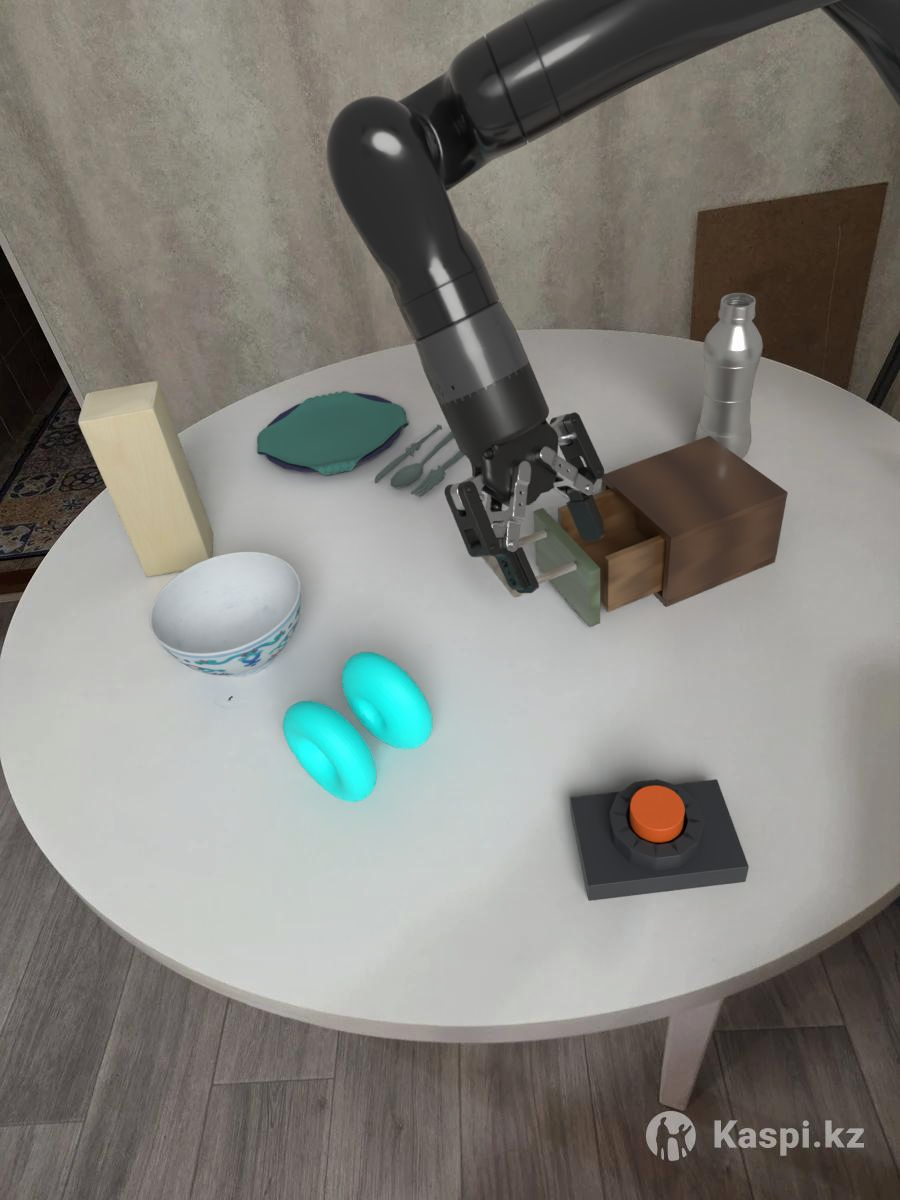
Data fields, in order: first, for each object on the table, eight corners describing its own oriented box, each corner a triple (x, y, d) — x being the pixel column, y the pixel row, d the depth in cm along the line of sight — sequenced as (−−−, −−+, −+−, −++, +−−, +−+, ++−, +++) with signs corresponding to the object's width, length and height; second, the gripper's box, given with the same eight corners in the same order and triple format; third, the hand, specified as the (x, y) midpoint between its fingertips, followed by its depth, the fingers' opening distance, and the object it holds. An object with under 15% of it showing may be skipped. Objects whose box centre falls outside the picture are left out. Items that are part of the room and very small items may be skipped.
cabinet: (666, 607, 88) (671, 537, 82) (601, 541, 97) (601, 474, 91) (775, 562, 92) (788, 492, 85) (702, 502, 100) (709, 435, 94)
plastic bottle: (716, 477, 104) (733, 319, 90) (682, 452, 109) (694, 297, 95) (760, 461, 105) (784, 302, 92) (725, 436, 110) (742, 282, 97)
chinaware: (346, 645, 90) (330, 589, 85) (227, 733, 83) (202, 678, 77) (262, 586, 98) (243, 533, 93) (148, 662, 91) (121, 608, 86)
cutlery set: (327, 393, 131) (324, 379, 129) (494, 437, 116) (492, 422, 114) (234, 460, 119) (229, 446, 118) (405, 518, 105) (402, 503, 103)
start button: (675, 795, 68) (676, 782, 67) (689, 839, 65) (691, 826, 64) (624, 801, 68) (625, 788, 67) (636, 846, 65) (636, 833, 64)
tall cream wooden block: (215, 529, 108) (158, 376, 94) (213, 565, 102) (152, 408, 88) (152, 541, 107) (85, 389, 93) (146, 578, 102) (74, 423, 88)
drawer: (526, 653, 85) (521, 599, 80) (476, 587, 93) (469, 534, 88) (695, 584, 89) (701, 528, 84) (634, 526, 97) (636, 472, 92)
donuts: (291, 769, 78) (263, 697, 72) (369, 702, 84) (350, 628, 77) (367, 828, 73) (344, 755, 66) (446, 751, 78) (431, 677, 71)
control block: (714, 794, 72) (719, 765, 69) (745, 882, 66) (752, 853, 63) (570, 812, 72) (569, 784, 69) (588, 901, 66) (588, 874, 63)
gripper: (445, 407, 59) (537, 610, 64) (574, 332, 66) (648, 520, 71) (387, 425, 65) (475, 609, 70) (511, 354, 72) (583, 526, 77)
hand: (562, 564), depth 70 cm, fingers open, 8 cm apart
